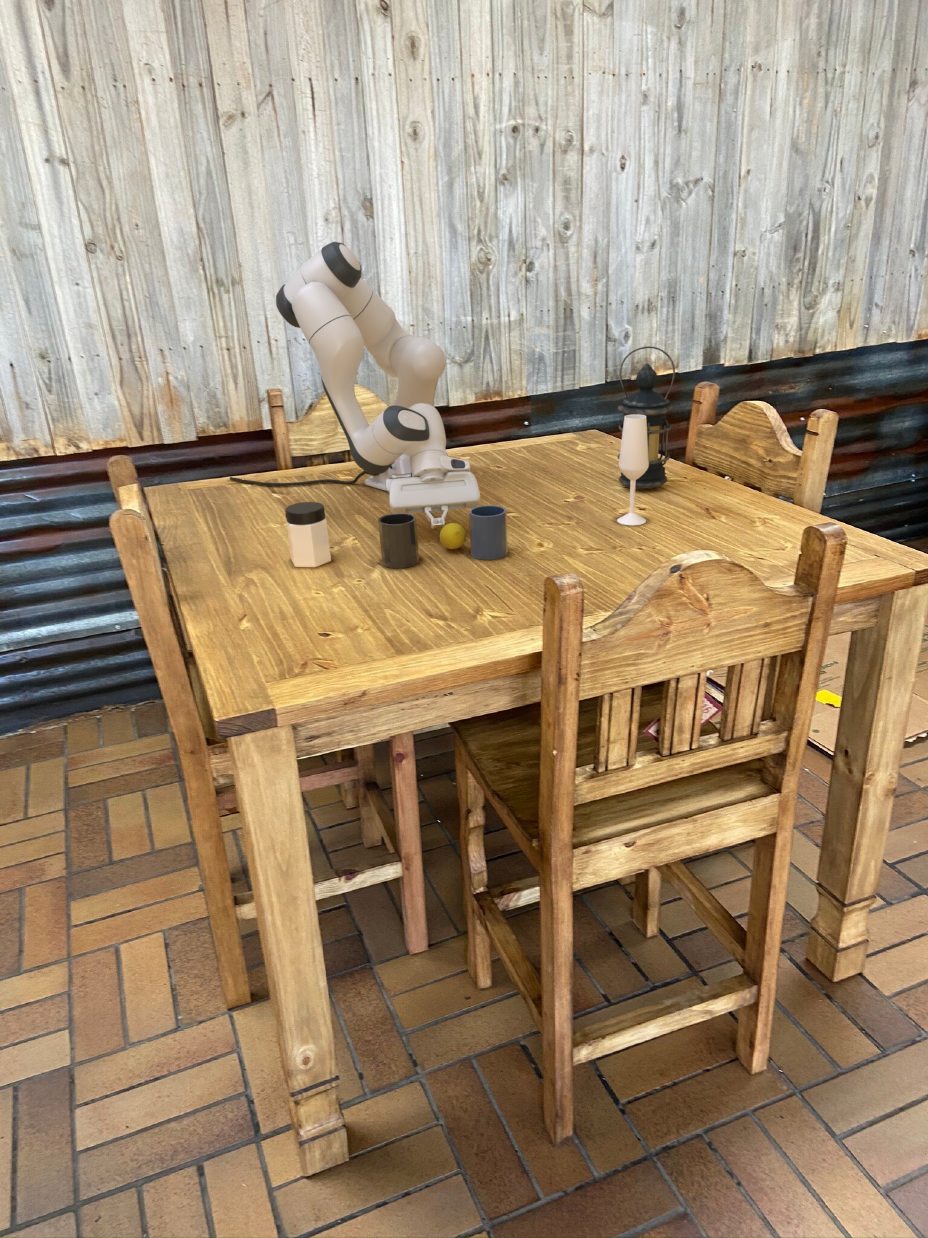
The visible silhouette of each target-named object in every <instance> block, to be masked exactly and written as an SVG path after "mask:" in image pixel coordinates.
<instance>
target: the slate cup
mask: <svg viewBox="0 0 928 1238" xmlns="http://www.w3.org/2000/svg"><path fill="white" fill-rule="evenodd" d="M507 511H508V510H507V509H506V507H503V506H500V505H493V504H491V505H490V504H488V505H487V504H486V505H478V507H475V508H469V511H468V523H469V525H468V526H469V542H470V543H469V546H470V549H469V551H470V555H471V557H472V558H474V559H477V560H480V561H481V560H483V561H494V560H498V559H502V558H505V557H506V556H507V555H508V550H509V549H508V548H509V546H508V545H509V544H508V543H509V542H508V513H507Z"/></svg>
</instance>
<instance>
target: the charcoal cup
mask: <svg viewBox="0 0 928 1238" xmlns="http://www.w3.org/2000/svg"><path fill="white" fill-rule="evenodd" d="M377 524H378V535H379V544H380V556H381V557H380V559H381V564H382V566H383V567H384V568H385V567H386V568H389V569H406V568H411V567H413V566H416V565H418V563H419V562H420V552H419V539H418V537H419V536H418V525H417V516H415V515H414V514H413V513H409V514H407V513H396V514H393V513H389V514H385V515H383V516H380V517H379V518H378V519H377Z"/></svg>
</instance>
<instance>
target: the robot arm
mask: <svg viewBox="0 0 928 1238" xmlns="http://www.w3.org/2000/svg"><path fill="white" fill-rule="evenodd" d="M362 269H363V268H362V264H361V263H360V261H359V259H358V257H357V255H356V254H355V253H354V251H353V250H351V248H349V247H348V246H347V245H346V244H344V243H343V242H339V241H332V242H329V243H328V244H325V245H324V246H323V247H321V250H319V251H318V252H316V253H315V254H314V255H313V256H311V257H310V258H308V259H307V260H305V262H304V263H303V264H302V265H300V267H299V269H298V270H296V272H295V273H294V274H292V276H291V277H290V278H289V279H288V281H287V282H286V283H285V284H283V285H282V286H281V287H280V288H279V290H278V292H277V293H276V296H275V305H276V309H277V311H278V313H279V314H280V315H281V317H282V318H283V319H284V320H285V321H286V322H287V323H288V324H289V325H290V326H292V327H294V328H296V329H300V330H301V332H302V333H303V335H304V337H305V339H306V341H307V343H308V344H309V346H310V347H311V349H312V351H313V353H314V355H315V357H316V360H317V363H318V366H319V371H320V376H321V384H322V387H323V390H324V393H325V395H326V397H327V399H328V403H329V404H330V406H331V408H332V410H333V412H334V414H335V417H336V419H337V420H338V423H339V425H340V426H341V429H342V431H343V433H344V435H345V438H346V440H347V444H348V446H349V451H350V454H351V457H352V459H353V461H354V463H355V464H356V465H357V466H358V467H359V468H360V469H361V470H363V471H362V472H360V473H359V474H358V475H356V476H355V478H354V479H353V480H339V479H332V478H331V479H330V478H329V479H328V478H327V479H316V480H306V481H296V482H295V481H294V482H265V481H257V480H250V479H244V480H242V479H243V478H238V477H234V476H230V477H229V480H230V481H235V482H239V483H246V484H251V485H259V486H266V487H267V486H268V487H290V486H293V487H294V486H305V485H306V486H307V485H313V484H323V483H334V484H342V485H353V484H356V483H357V482H358V481H359V479H360V478H361V477H363V476H364V475H370V476H369V477H367V478H366V479H365V480H364V485H365V486H369V487H372V488H375V489H379V490H382V491H386V492H387V493H389V496H388V497H389V498H388V499H389V501H388V502H389V504H388V505H389V512H390V514H396V513H407V514H419V513H423V514H424V517H425V518H426V519H427V520H428V522H429V523H430V528H431V529H432V530H433V529H442V528H443V527H444V526H445V525H446V519H447V516H448V513H449V511H456V510H468V509H472V508H475V507H479V506H480V504H481V500H482V499H481V496H482V495H481V491H480V487H479V483H478V481H477V478H476V476H475V475H474V473H473V472H471V463H470V461H468V460H465V459H460V458H457V457H456V458H455V457H451V456H449V454H448V452H447V449H446V446H447V437H446V430H445V426H444V422H443V420H442V419H443V418H442V417H441V414H440V412H439V411H438V409H437V408H436V407H435V399H436V398H435V396H436V391H437V386H438V382H439V379H440V377H441V376H442V375H443V374H444V372H445V370H446V365H447V359H446V354H445V352H444V350H443V349H442V347H441V346H440V345H438V344H437V343H436V342H434V341H433V340H431V339H430V338H426V337H420V336H415V335H412V334H410V333H409V332H407V331H406V330H405V329H404V328H403V327H402V326H401V324H400V323H399V321H398V320H397V317H396V315H395V311H394V310H393V309H392V308H391V306H389V304H388V303H386V302H385V301H384V299H383V298H381V296H380V295H379V294H378V293H377V292H376V291H375V290H374V289H373V288H372V287H371V286H370V285H369V284H368V283H366V281H365V280H363V279H362V273H363V270H362ZM365 349H366V350H367V351H368V353H369V354H370V356H371V357H372V358H373V359H374V361H375V363H376V365H377V367H378V368H379V369H381V370H382V372H384V373H385V374H387V375H388V376H390V377H393V378H397V380H398V383H397V391H396V396H395V398H394V400H393V401H392V403H391V405H390V406H387V408H385V409H384V410H383V411H382V412H380V414H379V415H378V416H377V417H376V418H375V419H374V420H373V421H372V422H371V423H370V424H369V422H368V419H367V418H366V415H365V414H364V411H363V408H362V407H361V405H360V403H359V401H358V398H357V396H356V392H355V383H356V378H357V375H358V370H359V369H360V365H361V363H362V360H363V357H364V352H365ZM233 477H234V478H233ZM432 512H440V514H441V517H434V516H433V515H432Z"/></svg>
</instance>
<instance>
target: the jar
mask: <svg viewBox="0 0 928 1238" xmlns="http://www.w3.org/2000/svg"><path fill="white" fill-rule="evenodd" d="M325 511H326V510H325V505H324V504H323V503H321V502H317V501H302V502H296V503H293V504H290V505H288V506H287V507H285V509H284V512H285V513H284V514H285V515H284V516H285V524H286V531H287V538H288V545H289V552H290V560H291V561H292V563H293V566H294V567H295V568H318V567H320V566H322V565H325V564H327V563H330V562H332V556H331V547H330V546H331V545H330V538H329V528H328V520H327V518H326V512H325Z"/></svg>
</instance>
